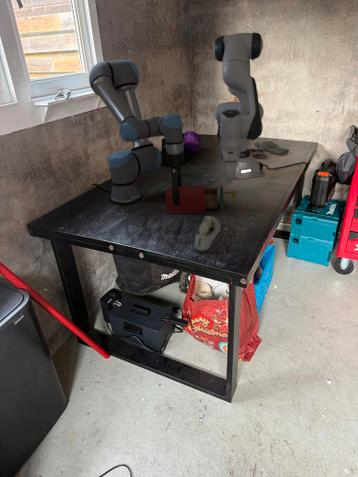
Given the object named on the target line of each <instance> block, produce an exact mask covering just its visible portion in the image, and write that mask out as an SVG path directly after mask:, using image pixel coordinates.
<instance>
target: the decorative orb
mask: <svg viewBox="0 0 358 477" xmlns="http://www.w3.org/2000/svg"><path fill="white" fill-rule="evenodd" d="M183 133H184V138H185V145H186V152H187V154H194V153H196V152H197V151H198V150H199V149H200V147H201V145H202V140H201V137H200V135H199V134H198V133H197V132H195V131H192V130H187V131H185V132H183Z"/></svg>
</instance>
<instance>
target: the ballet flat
mask: <svg viewBox="0 0 358 477" xmlns="http://www.w3.org/2000/svg"><path fill="white" fill-rule="evenodd" d="M221 229H222V225H221V222H220V220H219V219H218V218H216V217H215V216H213V215H212V216H211V215H205V216H204V217H203V219H202V221H201V223H200V225H199V228H198V230H197V232H196V233H195V236H194V242H193V248H194V249H195V251H196V252H199V253H200V252H201V253H205V252H207V251H208V250H209V249H210V248H211V246H212V244H213V242H214V240H215V239H216V238H217V235H218V234H219V233H220V232H221Z"/></svg>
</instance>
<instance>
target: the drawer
mask: <svg viewBox="0 0 358 477" xmlns="http://www.w3.org/2000/svg"><path fill="white" fill-rule="evenodd" d="M224 194H226V195H227V194H228V195H229V194H231V196H232V197H231V198H230V197H229V198H224ZM204 198H205V210H206V209H218V188H217V187H211V188H210V187H209V188H207V187H206V188H205V193H204ZM224 201H233V202H237V201H238V197H237V191H236V190H232V191H224V187H223V186H219V203H220V204H219V205H220V211H221V210H224Z"/></svg>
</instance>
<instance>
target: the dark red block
mask: <svg viewBox="0 0 358 477" xmlns="http://www.w3.org/2000/svg"><path fill="white" fill-rule="evenodd" d="M205 189H206V185H205V184H196V185H195V184H194V185H181V186H178V190H179V199H180V205H174V203H173V192H171V191H172V185H169V186H168V187H167V190H166V193H165V203H166V213H167V214H168V215H170V214H171V215H172V214H203V213H206V209H205V198H204V193H205Z"/></svg>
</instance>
